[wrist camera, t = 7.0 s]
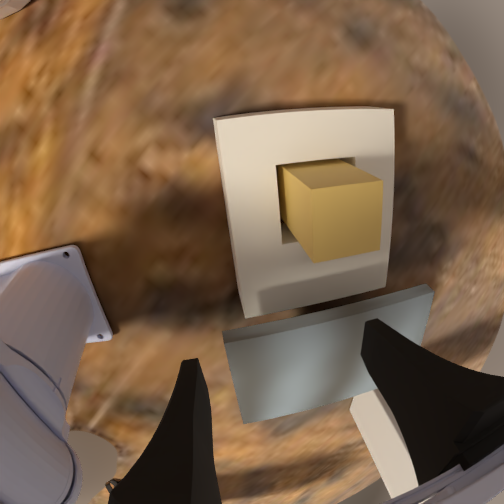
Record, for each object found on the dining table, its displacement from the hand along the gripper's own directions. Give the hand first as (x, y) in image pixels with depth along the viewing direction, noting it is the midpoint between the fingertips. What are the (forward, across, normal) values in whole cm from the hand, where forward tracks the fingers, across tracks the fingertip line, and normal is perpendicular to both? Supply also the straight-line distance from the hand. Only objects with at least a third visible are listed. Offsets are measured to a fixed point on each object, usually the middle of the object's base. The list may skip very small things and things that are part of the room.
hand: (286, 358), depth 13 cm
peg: (+10, -4, -4) cm, 12 cm away
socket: (+10, -4, -4) cm, 11 cm away
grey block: (+10, -4, +6) cm, 12 cm away
